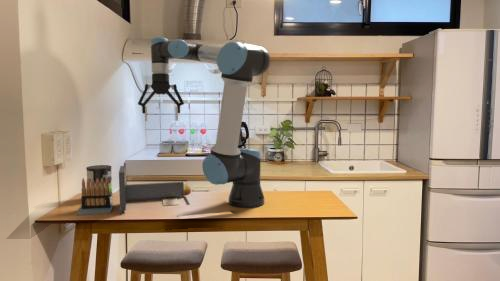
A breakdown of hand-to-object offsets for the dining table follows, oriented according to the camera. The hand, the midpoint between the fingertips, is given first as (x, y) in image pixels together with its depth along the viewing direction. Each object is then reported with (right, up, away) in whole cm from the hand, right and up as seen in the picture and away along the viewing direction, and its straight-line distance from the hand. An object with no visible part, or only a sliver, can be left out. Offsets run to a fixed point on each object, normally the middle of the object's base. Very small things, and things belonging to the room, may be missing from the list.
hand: (161, 120), depth 176 cm
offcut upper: (+7, -35, -17) cm, 40 cm away
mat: (-21, -36, -22) cm, 47 cm away
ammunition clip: (-21, -36, -22) cm, 47 cm away
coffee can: (-26, -35, -4) cm, 44 cm away
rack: (+2, -36, -18) cm, 40 cm away
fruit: (+8, -35, 0) cm, 35 cm away
